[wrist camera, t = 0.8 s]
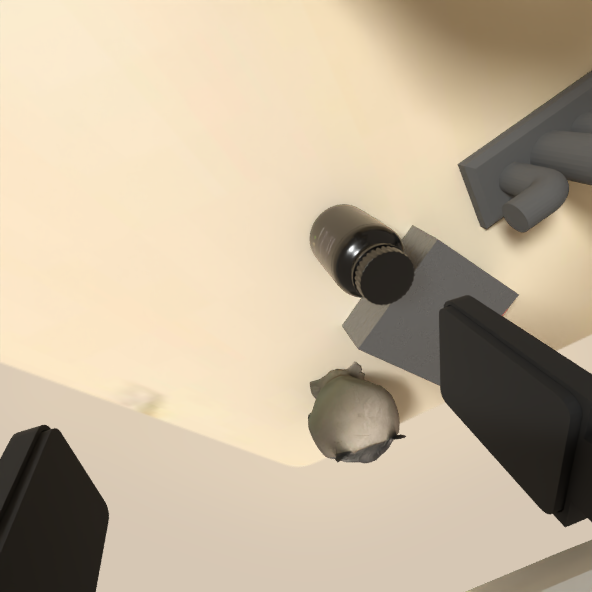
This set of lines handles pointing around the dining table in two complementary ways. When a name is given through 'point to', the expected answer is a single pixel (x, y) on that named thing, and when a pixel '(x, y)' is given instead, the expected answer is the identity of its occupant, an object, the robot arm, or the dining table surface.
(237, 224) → the dining table surface
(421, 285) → the stand
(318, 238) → the supplement bottle
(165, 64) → the dining table surface
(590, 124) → the faucet
